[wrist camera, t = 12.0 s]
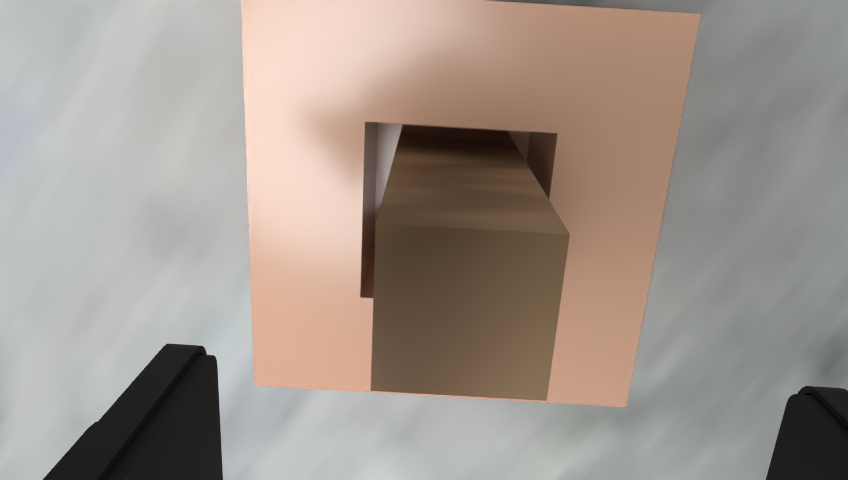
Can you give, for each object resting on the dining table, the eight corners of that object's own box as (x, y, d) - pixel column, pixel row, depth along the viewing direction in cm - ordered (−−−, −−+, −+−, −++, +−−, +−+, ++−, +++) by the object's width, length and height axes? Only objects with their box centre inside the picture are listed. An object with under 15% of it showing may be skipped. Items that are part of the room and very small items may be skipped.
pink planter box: (638, 12, 24) (701, 13, 18) (587, 327, 28) (626, 407, 23) (286, -9, 24) (240, -15, 18) (290, 310, 28) (254, 385, 22)
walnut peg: (507, 131, 25) (569, 234, 13) (497, 230, 26) (547, 400, 15) (402, 125, 25) (375, 223, 13) (398, 224, 26) (370, 391, 15)
